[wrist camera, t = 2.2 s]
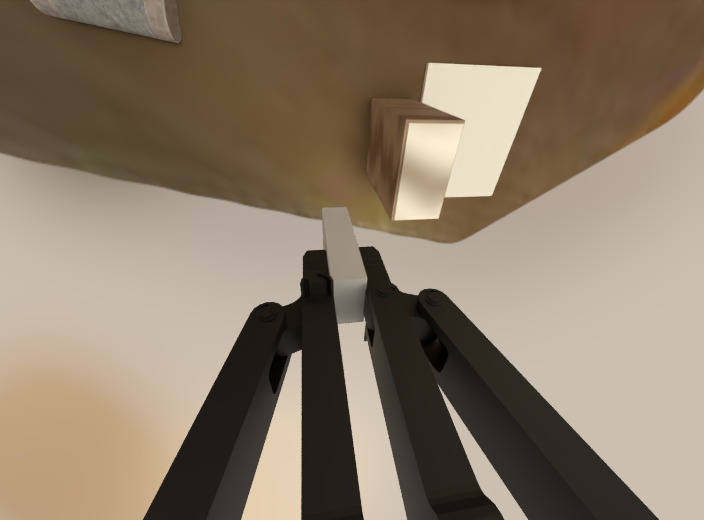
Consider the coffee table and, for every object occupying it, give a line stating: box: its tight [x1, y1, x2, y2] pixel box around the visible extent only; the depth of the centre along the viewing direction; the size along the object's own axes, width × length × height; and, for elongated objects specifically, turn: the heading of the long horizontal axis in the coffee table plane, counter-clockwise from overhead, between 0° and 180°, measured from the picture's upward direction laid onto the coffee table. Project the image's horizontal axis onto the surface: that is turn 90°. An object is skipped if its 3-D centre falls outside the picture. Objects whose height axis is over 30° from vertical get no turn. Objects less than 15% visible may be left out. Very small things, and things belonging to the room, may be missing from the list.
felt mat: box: [420, 63, 541, 197], centre depth 35 cm, size 16×14×1 cm
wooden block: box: [366, 98, 465, 221], centre depth 29 cm, size 9×5×13 cm, turn 178°
